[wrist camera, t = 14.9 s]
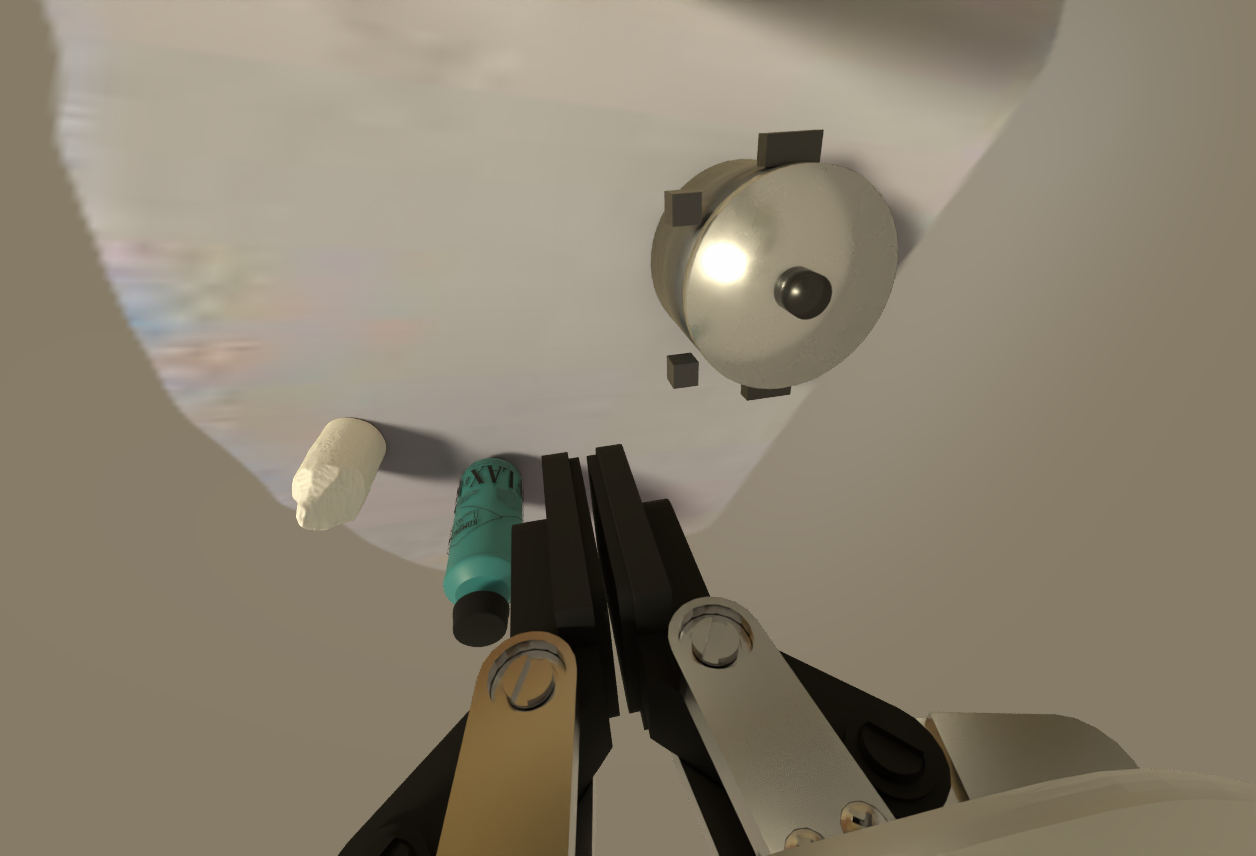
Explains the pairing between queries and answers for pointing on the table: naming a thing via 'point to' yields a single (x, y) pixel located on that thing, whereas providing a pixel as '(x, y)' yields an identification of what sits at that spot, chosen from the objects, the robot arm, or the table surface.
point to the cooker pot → (689, 217)
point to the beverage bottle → (483, 551)
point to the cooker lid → (790, 274)
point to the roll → (337, 473)
